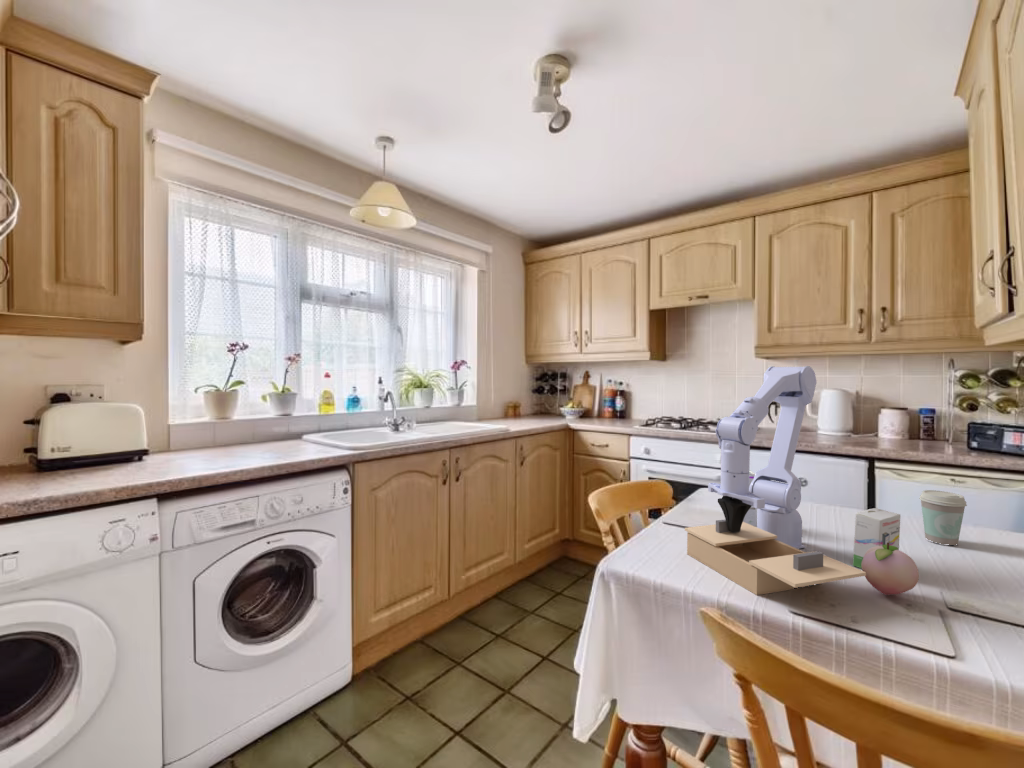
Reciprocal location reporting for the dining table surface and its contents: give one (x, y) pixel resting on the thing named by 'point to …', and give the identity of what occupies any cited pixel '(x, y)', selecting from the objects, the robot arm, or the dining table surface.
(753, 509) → the white printed box
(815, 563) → the lid panel
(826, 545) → the dining table surface
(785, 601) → the dining table surface
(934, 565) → the dining table surface
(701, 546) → the carton
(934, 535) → the coffee cup
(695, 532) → the lid panel
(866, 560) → the decorative fruit
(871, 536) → the ink box
